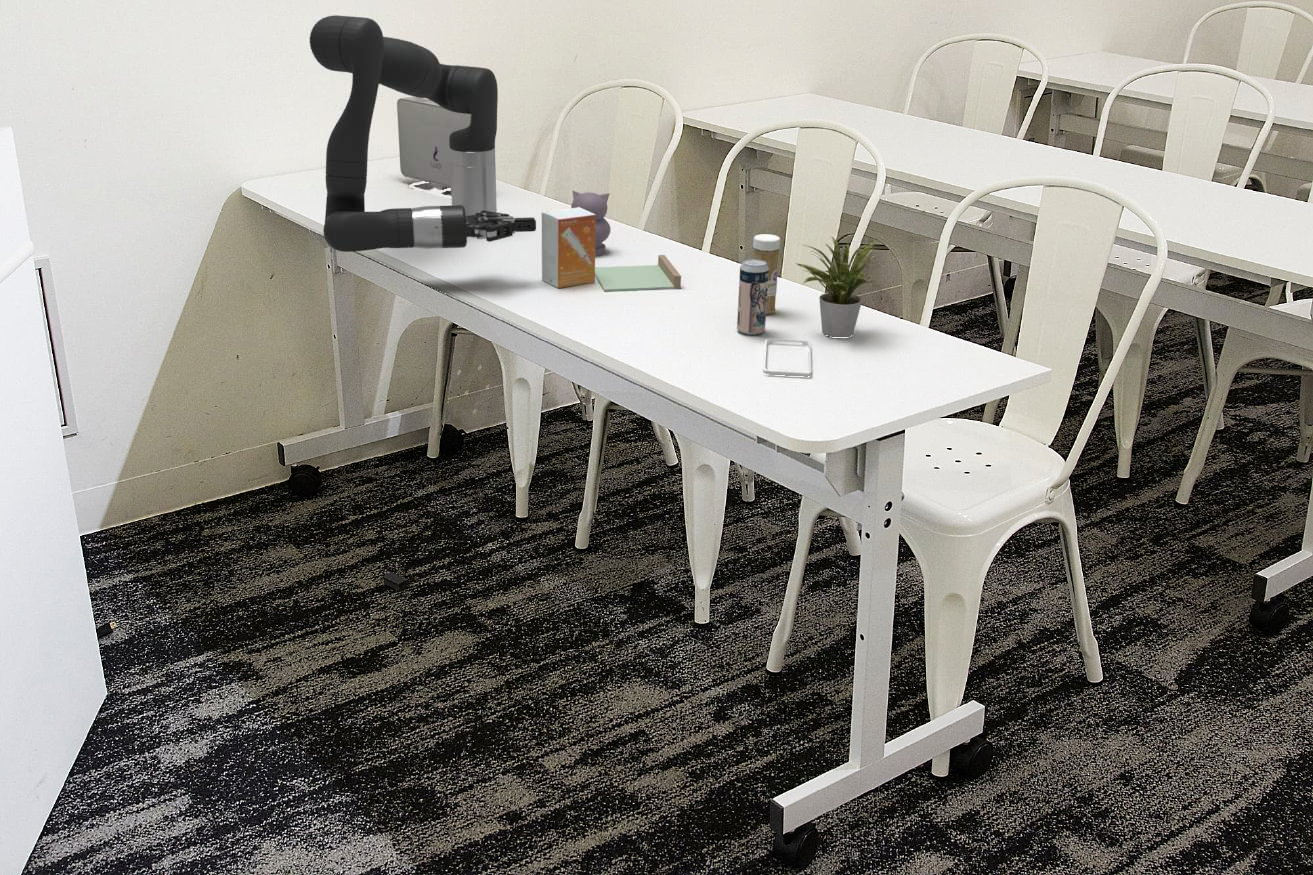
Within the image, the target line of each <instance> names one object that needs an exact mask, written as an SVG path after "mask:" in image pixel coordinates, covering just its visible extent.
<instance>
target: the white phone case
mask: <svg viewBox="0 0 1313 875" xmlns="http://www.w3.org/2000/svg"><path fill="white" fill-rule="evenodd" d="M774 342H782V343H783V342H785V343H786V342H787V343H801V346H802V345H807V346H808V347H807V346H806V347H807V349H808V348H809V352H808V371H806V372H805V371H788V370H773V369H772V370H771V369H767V368H766V362H767V349H768V348H767V346H768V345H770V344H769V343H773V344H774ZM767 344H768V345H767ZM811 345H812V344H811V342H810V340H799V339H783V338H782V339H779V338H766V339H765V341H764V353H763V354H764V356H763V368H762V373H765V374H769V375H785V376H804V377H808V376H810V375H811V376H812V351H811V349H812V348H811Z"/></svg>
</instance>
